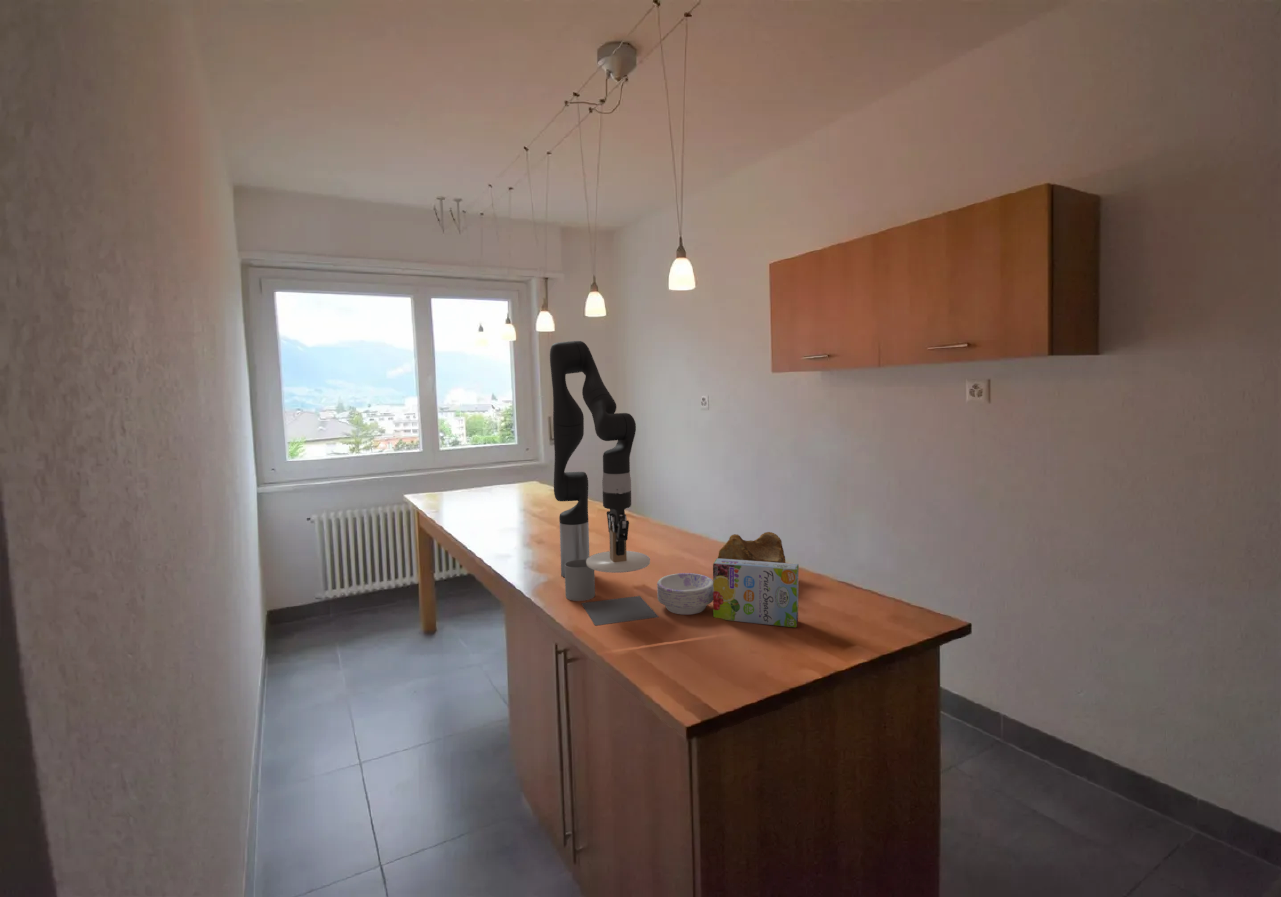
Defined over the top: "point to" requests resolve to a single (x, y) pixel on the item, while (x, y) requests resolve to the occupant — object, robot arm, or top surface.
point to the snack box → (756, 592)
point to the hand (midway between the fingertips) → (618, 552)
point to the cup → (579, 581)
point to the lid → (617, 559)
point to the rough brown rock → (754, 549)
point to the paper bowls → (685, 592)
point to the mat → (618, 610)
